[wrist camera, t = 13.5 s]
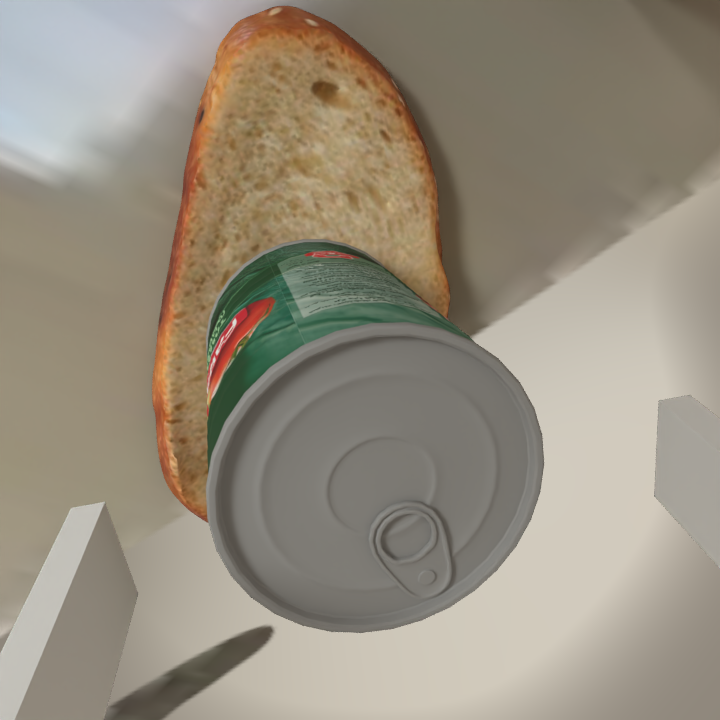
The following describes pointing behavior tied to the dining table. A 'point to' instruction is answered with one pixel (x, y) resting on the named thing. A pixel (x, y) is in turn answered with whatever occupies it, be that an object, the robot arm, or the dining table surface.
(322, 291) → the canned tomato
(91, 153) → the dining table surface
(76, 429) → the dining table surface
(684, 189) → the dining table surface
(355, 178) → the bread slice
